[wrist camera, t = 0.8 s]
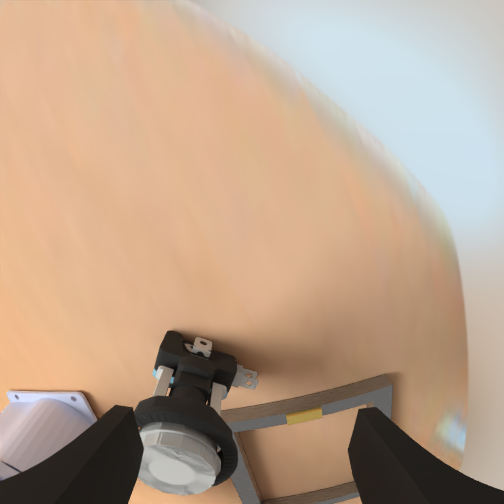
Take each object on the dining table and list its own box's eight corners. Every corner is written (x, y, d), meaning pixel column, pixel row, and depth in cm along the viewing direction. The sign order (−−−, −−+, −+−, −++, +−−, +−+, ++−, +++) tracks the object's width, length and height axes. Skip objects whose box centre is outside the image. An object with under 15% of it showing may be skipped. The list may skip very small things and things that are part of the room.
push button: (269, 340, 20) (291, 456, 10) (242, 402, 21) (244, 518, 11) (168, 307, 19) (114, 408, 10) (150, 373, 20) (105, 481, 10)
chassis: (249, 507, 24) (250, 520, 22) (210, 412, 21) (208, 428, 19) (378, 478, 24) (384, 490, 22) (385, 374, 21) (394, 387, 19)
